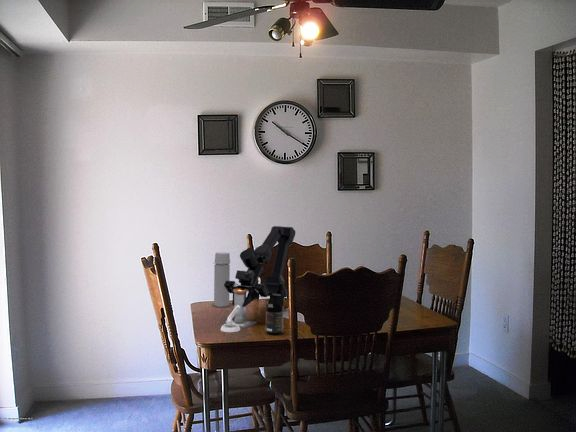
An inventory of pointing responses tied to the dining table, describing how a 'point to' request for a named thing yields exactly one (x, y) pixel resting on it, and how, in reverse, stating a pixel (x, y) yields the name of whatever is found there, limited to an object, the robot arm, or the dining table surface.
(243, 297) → the clear copper-topped jar
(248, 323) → the pad
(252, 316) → the dining table surface
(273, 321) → the supplement container
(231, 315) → the hook
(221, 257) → the water bottle
